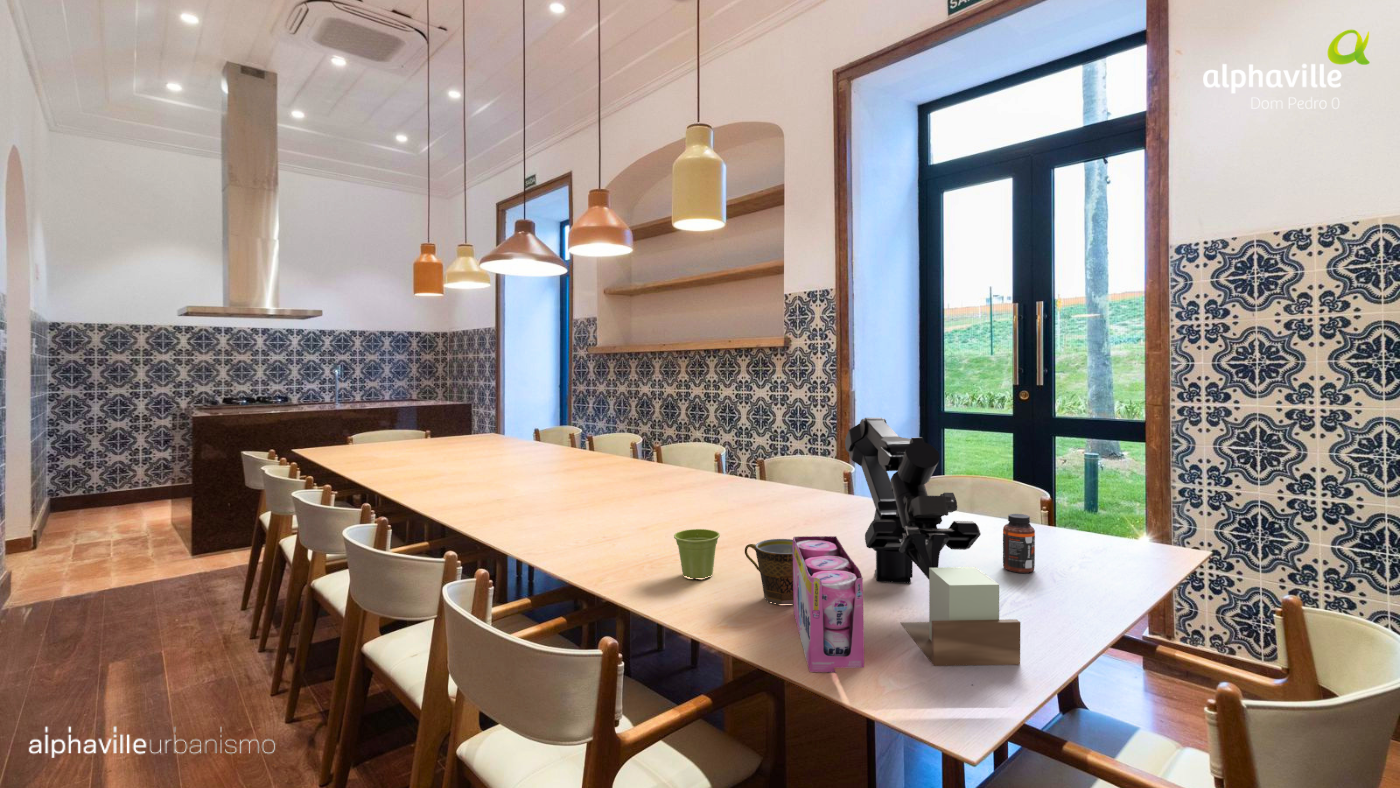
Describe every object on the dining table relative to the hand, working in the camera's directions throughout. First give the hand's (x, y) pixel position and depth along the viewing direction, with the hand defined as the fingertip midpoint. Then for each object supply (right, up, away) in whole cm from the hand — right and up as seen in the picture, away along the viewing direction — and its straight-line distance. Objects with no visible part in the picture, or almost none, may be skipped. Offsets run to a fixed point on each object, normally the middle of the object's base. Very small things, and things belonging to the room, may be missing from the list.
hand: (933, 580), depth 108 cm
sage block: (0, -7, -12) cm, 14 cm away
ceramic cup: (-25, -7, +12) cm, 29 cm away
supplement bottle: (+27, -6, +27) cm, 39 cm away
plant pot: (-39, -7, +26) cm, 48 cm away
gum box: (-19, -8, -6) cm, 22 cm away
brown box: (0, -7, -9) cm, 12 cm away
